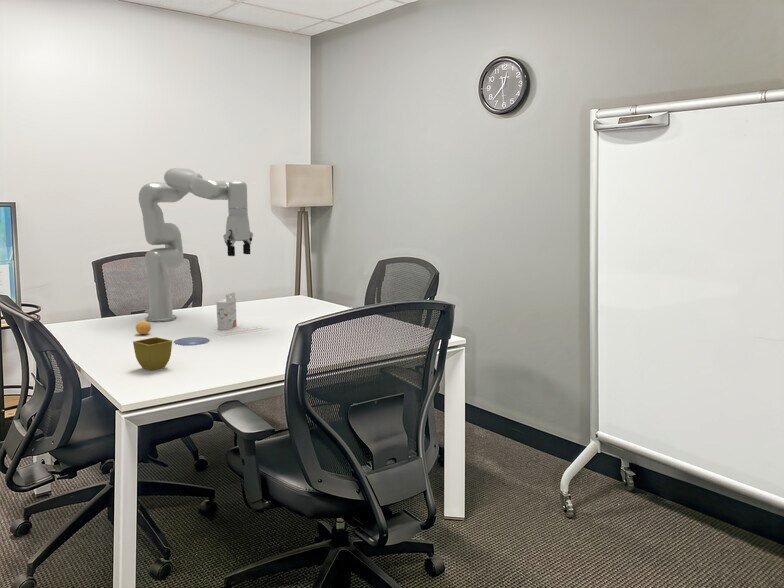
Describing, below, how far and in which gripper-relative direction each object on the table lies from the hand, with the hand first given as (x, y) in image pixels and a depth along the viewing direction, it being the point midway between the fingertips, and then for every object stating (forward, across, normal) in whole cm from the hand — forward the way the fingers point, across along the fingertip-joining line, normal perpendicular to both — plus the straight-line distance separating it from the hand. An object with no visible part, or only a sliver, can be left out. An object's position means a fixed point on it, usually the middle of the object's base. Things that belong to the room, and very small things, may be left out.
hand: (239, 255), depth 258 cm
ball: (+28, +26, -28) cm, 47 cm away
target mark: (+31, +26, -3) cm, 40 cm away
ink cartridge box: (+31, 0, -8) cm, 32 cm away
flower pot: (+31, +60, +13) cm, 69 cm away
